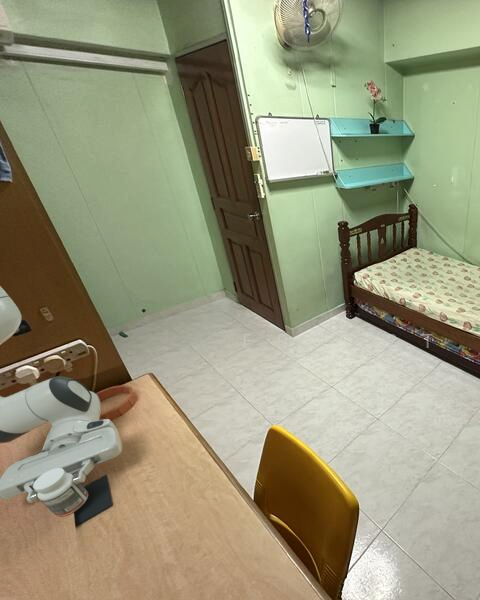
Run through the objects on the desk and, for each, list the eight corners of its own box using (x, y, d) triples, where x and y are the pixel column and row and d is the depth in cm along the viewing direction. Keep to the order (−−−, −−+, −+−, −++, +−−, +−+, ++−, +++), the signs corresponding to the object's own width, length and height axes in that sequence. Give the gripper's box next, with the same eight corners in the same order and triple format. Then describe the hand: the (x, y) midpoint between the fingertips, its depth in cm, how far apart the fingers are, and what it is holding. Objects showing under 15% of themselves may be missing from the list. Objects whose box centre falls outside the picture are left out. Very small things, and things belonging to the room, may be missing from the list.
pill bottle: (64, 494, 72) (40, 469, 67) (94, 487, 74) (73, 462, 69) (48, 521, 67) (22, 495, 63) (80, 512, 69) (57, 487, 64)
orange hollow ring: (86, 431, 89) (81, 424, 88) (82, 406, 97) (77, 399, 96) (140, 407, 97) (136, 400, 96) (132, 386, 105) (129, 379, 103)
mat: (39, 548, 65) (37, 547, 64) (38, 512, 71) (37, 511, 70) (112, 505, 72) (112, 504, 72) (107, 475, 78) (106, 474, 78)
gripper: (1, 455, 70) (-26, 511, 60) (117, 415, 80) (110, 457, 70) (17, 472, 73) (-6, 528, 63) (127, 432, 83) (122, 474, 73)
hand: (56, 490), depth 67 cm, fingers closed on pill bottle, 5 cm apart
